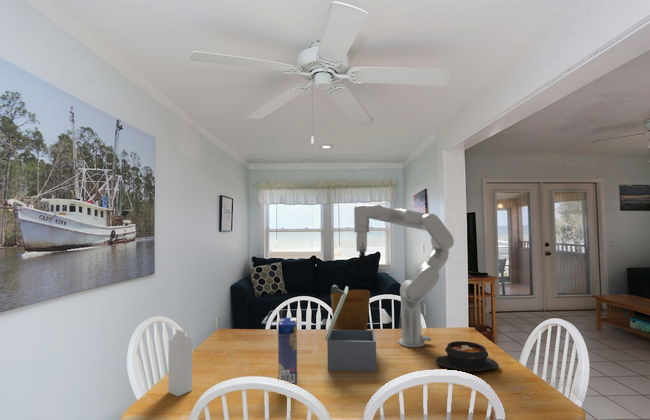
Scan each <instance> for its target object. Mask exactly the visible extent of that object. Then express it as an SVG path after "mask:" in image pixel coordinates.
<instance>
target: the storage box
mask: <svg viewBox="0 0 650 420" xmlns="http://www.w3.org/2000/svg"><path fill="white" fill-rule="evenodd" d="M376 340H377V339H376V331H375V330H374V329H373V330H372V329H367V330H334V329H332V331H331V333H330V336H329V338H328V340H326V342H327V344H326V346H327V371H343V372H344V371H345V372H346V371H347V372H375V373H376V372H377V341H376Z"/></svg>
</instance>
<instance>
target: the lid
mask: <svg viewBox="0 0 650 420" xmlns="http://www.w3.org/2000/svg"><path fill="white" fill-rule="evenodd" d="M348 290H349V286H347V285H346V286H345V288H344V291H341V289H339V287H338V285H336V284H333V285H332V286H331V288H330V294H331V293H333V294H336V293H339V294H341V295H342V297H341V299H340V301H339V304H338V306H337V308H336V311H335V313H334V315H333V314H332V318H331V320H330V322H329V325H328V327H327V330H326V334H325V338H324V340H325V341H327V340H328V338H329V336H330V333H331V331H332V330H334V324H335V321H336V319H337V317H338V314H339V312H340V310H341V307H342V305H343V303H344V300H345V298H346V296H347V292H348Z"/></svg>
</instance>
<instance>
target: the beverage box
mask: <svg viewBox="0 0 650 420" xmlns="http://www.w3.org/2000/svg"><path fill="white" fill-rule="evenodd" d="M277 331H278V332H277V333H278V334H277V336H278V337H277V338H278V339H277V341H278V342H277V343H278V347H277V348H278V350H277V353H278V360H277V361H278V362H277V363H278V380H279V379H280V380H284V381H287V382H290V383H289V384H297V380H298V379H297V378H298V317H280V318H279V320H278V324H277Z"/></svg>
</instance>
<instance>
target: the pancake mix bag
mask: <svg viewBox="0 0 650 420" xmlns="http://www.w3.org/2000/svg"><path fill="white" fill-rule="evenodd" d="M340 290H341V289H340ZM344 290H345V289H344ZM344 290H341V291H344ZM370 294H371V291H370V290H368V289H348V292H347V296H346V298H345V300H344V303H343V305H342V307H341V310H340V312H339V314H338V317H337V319H336V321H335V324H334V326H333V330H368V320H369V312H370V296H371V295H370ZM341 297H342V295H341V294H339V293H336V294H333V293H331V292H330V299H331V314H332V316H333V315H334V313H335V311H336V308H337V306H338V304H339V301H340V299H341Z"/></svg>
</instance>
